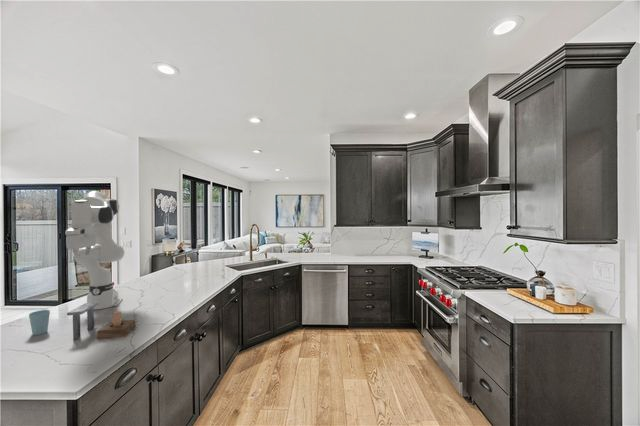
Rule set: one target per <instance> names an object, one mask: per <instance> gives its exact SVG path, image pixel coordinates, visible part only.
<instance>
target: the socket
mask: <svg viewBox="0 0 640 426" xmlns="http://www.w3.org/2000/svg"><path fill="white" fill-rule="evenodd" d="M136 322H137V321H136V319H126V320H121V326H118V327H113V320H112V321H108V322H107V323H106V324H104V325H103V326H102V327H100V328H98V329H97V330H96V334H97V335H96V336H97V340H104V339H115V338H123V337H124V338H125V337H127V336H129V334H130V333H131V332H132V331H133V330H134V329H135V328H136V327H137V324H136Z"/></svg>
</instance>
